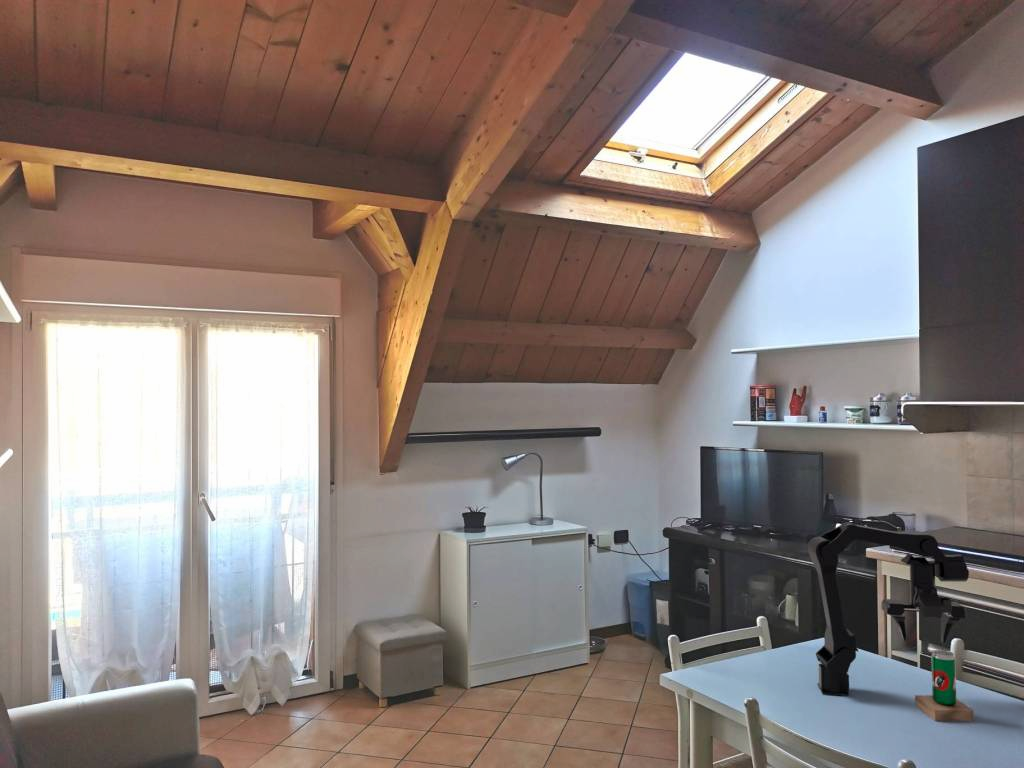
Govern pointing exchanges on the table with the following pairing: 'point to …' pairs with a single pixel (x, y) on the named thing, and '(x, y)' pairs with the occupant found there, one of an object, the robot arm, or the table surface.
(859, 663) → the table surface
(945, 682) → the soda can
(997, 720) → the table surface
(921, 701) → the tan block
